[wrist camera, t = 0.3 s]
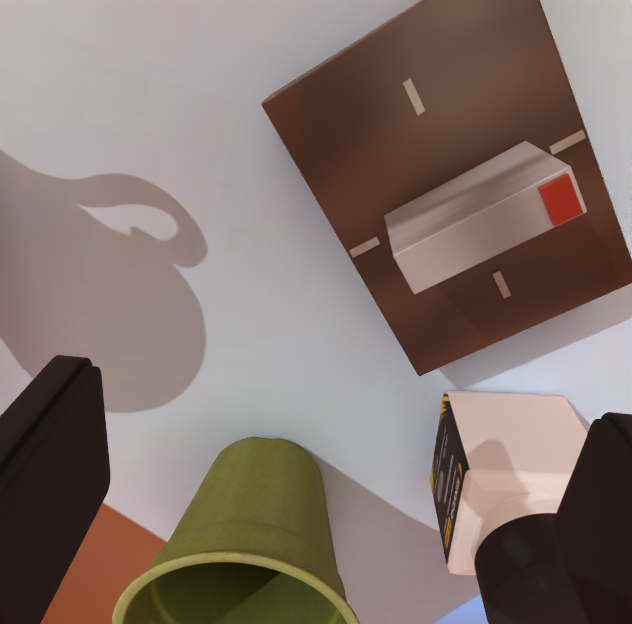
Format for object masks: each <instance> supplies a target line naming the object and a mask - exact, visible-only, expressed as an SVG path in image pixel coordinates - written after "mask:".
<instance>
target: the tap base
mask: <svg viewBox="0 0 632 624" xmlns="http://www.w3.org/2000/svg"><path fill="white" fill-rule="evenodd" d="M261 105H262V107H263V108H264V110H265V112H266V114H267V115H268V117H269V119H270V120H271V122H272V124H273V126H274V127H275V129H276V131H277V133H278V134H279V136H280V138H281V139H282V141H283V143H284V145H285V146H286V148H287V150H288V152H289V153H290V155H291V157H292V158H293V160H294V162H295V164H296V165H297V167H298V169H299V171H300V172H301V174H302V176H303V177H304V179H305V181H306V183H307V184H308V186H309V188H310V190H311V191H312V193H313V195H314V196H315V198H316V200H317V202H318V203H319V205H320V207H321V209H322V210H323V212H324V214H325V215H326V217H327V219H328V221H329V222H330V224H331V226H332V227H333V229H334V231H335V233H336V234H337V236H338V238H339V240H340V241H341V243H342V245H343V246H344V248H345V250H346V252H347V253H348V255H349V257H350V259H351V260H352V262H353V264H354V265H355V267H356V269H357V271H358V272H359V274H360V276H361V278H362V279H363V281H364V283H365V284H366V286H367V288H368V290H369V291H370V293H371V295H372V297H373V298H374V300H375V302H376V303H377V305H378V307H379V309H380V310H381V312H382V314H383V316H384V317H385V319H386V321H387V322H388V324H389V326H390V328H391V329H392V331H393V333H394V335H395V336H396V338H397V340H398V341H399V343H400V345H401V347H402V348H403V350H404V352H405V354H406V355H407V357H408V359H409V360H410V362H411V364H412V366H413V367H414V369H415V371H416V373H417V374H418V375H419V376H421V375H423V374H425V373H428V372H430V371H432V370H435V369H437V368H439V367H441V366H444V365H446V364H448V363H451V362H453V361H455V360H457V359H460V358H462V357H464V356H466V355H469V354H471V353H473V352H476V351H478V350H480V349H482V348H485V347H487V346H489V345H492V344H494V343H496V342H498V341H501V340H503V339H505V338H508V337H510V336H512V335H514V334H517V333H519V332H521V331H523V330H526V329H528V328H530V327H533V326H535V325H537V324H539V323H542V322H544V321H546V320H549V319H551V318H553V317H555V316H558V315H560V314H562V313H565V312H567V311H569V310H571V309H574V308H576V307H578V306H580V305H583V304H585V303H587V302H590V301H592V300H594V299H596V298H599V297H601V296H603V295H606V294H608V293H610V292H612V291H615V290H617V289H619V288H621V287H624V286H626V285H628V284H631V283H632V260H631V257H630V254H629V251H628V248H627V246H626V243H625V240H624V237H623V234H622V231H621V229H620V226H619V223H618V220H617V217H616V214H615V212H614V209H613V206H612V203H611V200H610V197H609V195H608V192H607V189H606V186H605V183H604V181H603V178H602V175H601V172H600V169H599V166H598V164H597V161H596V158H595V155H594V152H593V149H592V147H591V144H590V141H589V138H588V135H587V132H586V130H585V127H584V124H583V121H582V118H581V115H580V113H579V110H578V107H577V104H576V101H575V99H574V96H573V93H572V90H571V87H570V84H569V82H568V79H567V76H566V73H565V70H564V67H563V65H562V62H561V59H560V56H559V53H558V50H557V48H556V45H555V42H554V39H553V36H552V33H551V31H550V28H549V25H548V22H547V19H546V17H545V14H544V11H543V8H542V5H541V2H540V0H421V1H420V2H418V3H416V4H415V5H413V6H412V7H410V8H408V9H407V10H405V11H404V12H402V13H400V14H399V15H397V16H396V17H394V18H392V19H391V20H389V21H388V22H386V23H384V24H383V25H381V26H380V27H378V28H376V29H375V30H373V31H372V32H370V33H368V34H367V35H365V36H364V37H362V38H360V39H359V40H357V41H356V42H354V43H352V44H351V45H349V46H348V47H346V48H345V49H343V50H341V51H340V52H338V53H337V54H335V55H333V56H332V57H330V58H329V59H327V60H325V61H324V62H322V63H321V64H319V65H317V66H316V67H314V68H313V69H311V70H309V71H308V72H306V73H305V74H303V75H301V76H300V77H298V78H297V79H295V80H293V81H292V82H290V83H289V84H287V85H285V86H284V87H282V88H281V89H279V90H277V91H276V92H274V93H273V94H271V95H270V96H269V97H268V98H266V99H265V100H264V101H263V102H262V103H261ZM524 141H527V142H529V143H531V144H532V145H534V146H536V147H538V148H539V149H541V150H543V151H545V152H546V153H548V154H550V155H552V156H553V157H555V158H557V159H559V160H560V161H562V162H564V163H566V164H567V165H569V166H570V167H571V169H572V172H573V174H574V177H575V180H576V182H577V185H578V188H579V190H580V193H581V196H582V198H583V201H584V204H585V206H586V209H587V212H585V213H583V214H581V215H579V216H577V217H575V218H573V219H571V220H569V221H567V222H565V223H563V224H561V225H558V226H556V227H554V228H552V229H550V230H548V231H546V232H544V233H542V234H540V235H538V236H536V237H533V238H531V239H529V240H527V241H525V242H523V243H521V244H519V245H517V246H515V247H513V248H511V249H509V250H506V251H504V252H502V253H500V254H498V255H496V256H494V257H492V258H490V259H488V260H486V261H484V262H481V263H479V264H477V265H475V266H473V267H471V268H469V269H467V270H465V271H463V272H461V273H459V274H457V275H454V276H452V277H450V278H448V279H446V280H444V281H442V282H440V283H438V284H436V285H434V286H432V287H429V288H427V289H425V290H423V291H421V292H419V293H417V294H414V293H413V292H412V290H411V288H410V286H409V284H408V282H407V281H406V279H405V277H404V275H403V273H402V271H401V270H400V268H399V266H398V264H397V262H396V260H395V259H394V257H393V253H392V248H391V244H390V240H389V235H388V231H387V227H386V222H385V218H384V215H386V214H388V213H390V212H391V211H393V210H395V209H397V208H399V207H401V206H403V205H405V204H407V203H408V202H410V201H412V200H414V199H416V198H418V197H420V196H422V195H424V194H426V193H427V192H429V191H431V190H433V189H435V188H437V187H439V186H441V185H443V184H444V183H446V182H448V181H450V180H452V179H454V178H456V177H458V176H460V175H461V174H463V173H465V172H467V171H469V170H471V169H473V168H475V167H477V166H478V165H480V164H482V163H484V162H486V161H488V160H490V159H492V158H494V157H495V156H497V155H499V154H501V153H503V152H505V151H507V150H509V149H511V148H513V147H514V146H516V145H518V144H520V143H522V142H524Z"/></svg>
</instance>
